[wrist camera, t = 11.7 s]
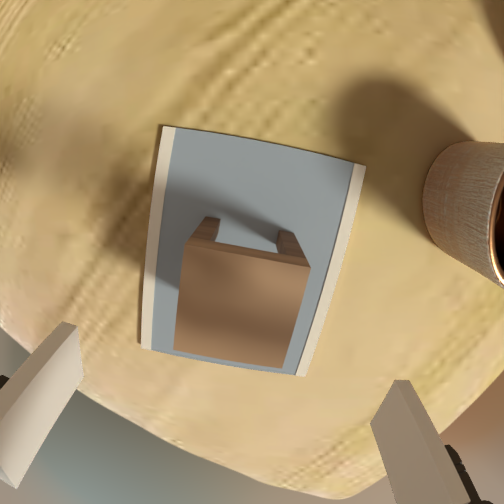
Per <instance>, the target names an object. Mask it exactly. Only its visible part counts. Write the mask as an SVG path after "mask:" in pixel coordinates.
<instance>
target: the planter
mask: <svg viewBox="0 0 504 504" xmlns="http://www.w3.org/2000/svg"><path fill="white" fill-rule="evenodd" d="M422 205H423V215H424V220H425V224H426V227H427V230H428V232H429V234H430V236H431V238H432V240H433V241H434V242H435V244H436V245H437V246H438V247H439V248H440V249H441V250H442V251H443V252H445V253H446V254H448V255H449V256H451V257H453V258H454V259H456V260H458V261H460V262H461V263H463V264H465V265H466V266H468V267H470V268H472V269H473V270H475V271H477V272H478V273H480V274H481V275H483V276H485V277H486V278H488V279H489V280H491V281H493V282H494V283H496V284H497V285H499V286H500V287H502V288H503V289H504V143H493V142H477V141H464V142H459V143H456V144H453V145H451V146H449V147H447V148H446V149H445V150H443V151H442V152H441V153H440V154H439V155H438V157H437V158H436V159H435V161H434V162H433V164H432V165H431V167H430V169H429V172H428V174H427V177H426V180H425V184H424V190H423V201H422Z"/></svg>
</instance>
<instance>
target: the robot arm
mask: <svg viewBox="0 0 504 504" xmlns="http://www.w3.org/2000/svg"><path fill="white" fill-rule="evenodd" d="M83 377H84V374H83V367H82V360H81V352H80V344H79V334H78V326H75V325H72V324H69V323H66V322H63V321H62V322H61V323H60V324H59V325H58V326H57V327H56V328H55V329H54V330H53V332H52V333H51V334H50V335H49V336H48V337H47V338H46V339H45V340H44V341H43V342H42V343H41V344H40V345H39V346H38V348H37V349H36V350H35V351H34V352H33V353H32V354H31V355H30V356H29V357H28V359H27V360H26V361H25V362H24V363H23V364H22V365H21V367H20V368H19V369H18V370H17V371H16V372H15V373H14V374H13V375H12V377H11V378H8V377H6V376H4V375H1V376H0V479H1V480H3V481H4V482H6V483H7V484H9V485H11V486H12V487H14V488H16V489H17V487H18V486H19V483H20V482H21V480H22V478H23V476H24V475H25V473H26V471H27V469H28V467H29V466H30V464H31V462H32V460H33V459H34V457H35V455H36V453H37V452H38V450H39V448H40V447H41V445H42V443H43V441H44V440H45V438H46V436H47V435H48V433H49V431H50V429H51V428H52V426H53V425H54V423H55V421H56V420H57V418H58V417H59V415H60V413H61V412H62V410H63V408H64V407H65V405H66V404H67V402H68V401H69V399H70V397H71V396H72V394H73V392H74V391H75V390H76V388H77V387H78V385H79V383H80V382H81V380H82V379H83ZM370 425H371V428H372V430H373V433H374V436H375V439H376V442H377V445H378V448H379V451H380V454H381V457H382V460H383V463H384V466H385V469H386V472H387V475H388V478H389V481H390V484H391V487H392V491H393V493H394V497H395V500H396V503H397V504H493V503H491V502H490V501H485V500H484V501H481V499H480V498H479V496H478V494H477V491H476V489H475V487H474V485H473V483H472V481H471V479H470V477H469V475H468V473H467V472H466V469H465V467H464V465H463V464H462V461H461V459H460V457H459V455H458V453H457V452H456V451H455V450H454V449H453V448H452V447H451V446H450V445H444V444H443V442H442V440H441V439H440V436H439V434H438V432H437V431H436V429H435V427H434V425H433V423H432V421H431V419H430V417H429V415H428V414H427V412H426V410H425V408H424V406H423V404H422V402H421V401H420V399H419V397H418V395H417V393H416V392H415V390H414V388H413V386H412V384H411V383H410V381H409V380H394V382H393V384H392V386H391V388H390V390H389V392H388V393H387V395H386V397H385V399H384V400H383V402H382V404H381V406H380V407H379V409H378V411H377V413H376V414H375V416H374V418H373V419H372V421H371V423H370Z"/></svg>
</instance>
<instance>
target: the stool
mask: <svg viewBox="0 0 504 504" xmlns="http://www.w3.org/2000/svg"><path fill="white" fill-rule="evenodd" d="M220 220H221V219H218V218H213V217H207V216H205V218H204V219H203V220H202V222H201V223H200V224H199V226H198V227H197V228H196V230H195V231H194V232H193V234H192V235H191V236H190V238H189V239H188V240H187V242H186V243H185V245H184V253H183V260H182V268H181V277H180V285H179V294H178V303H177V313H176V323H175V334H174V345H173V350H176V351H181V352H186V353H191V354H196V355H201V356H206V357H211V358H217V359H222V360H228V361H234V362H240V363H246V364H253V365H259V366H266V367H274V368H281V369H282V367H283V364H284V360H285V357H286V354H287V351H288V347H289V344H290V341H291V337H292V334H293V331H294V327H295V324H296V320H297V317H298V313H299V310H300V306H301V303H302V299H303V296H304V292H305V288H306V285H307V281H308V277H309V274H310V270H311V267H310V265H309V263H308V261H307V258H306V256H305V254H304V252H303V250H302V248H301V246H300V244H299V242H298V240H297V238H296V236H295V234H294V233H292V232H287V231H282V230H279V232H278V237H277V241H276V248H277V252H278V253H274V252H269V251H263V250H258V249H253V248H247V247H242V246H236V245H231V244H226V243H220V242H215V240H216V238H217V235H218V232H219V226H220Z"/></svg>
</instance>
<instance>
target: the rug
mask: <svg viewBox="0 0 504 504" xmlns="http://www.w3.org/2000/svg"><path fill="white" fill-rule="evenodd" d="M365 170H366V166H364V165H360V164H356V163H353V162H349V161H345V160H341V159H337V158H334V157H330V156H326V155H322V154H317V153H313V152H309V151H305V150H300V149H296V148H291V147H287V146H282V145H277V144H272V143H267V142H262V141H257V140H252V139H246V138H241V137H235V136H229V135H223V134H217V133H211V132H204V131H197V130H190V129H182V128H175V127H167V126H163V130H162V136H161V142H160V147H159V153H158V160H157V166H156V172H155V179H154V186H153V194H152V201H151V209H150V218H149V227H148V236H147V247H146V258H145V270H144V285H143V302H142V325H141V348H143V349H147V350H154V351H158V352H162V353H167V354H171V355H176V356H181V357H185V358H190V359H195V360H200V361H206V362H211V363H216V364H222V365H228V366H234V367H240V368H246V369H253V370H260V371H267V372H274V373H282V374H290V375H295V376H303V377H305V376H306V373H307V370H308V368H309V365H310V362H311V359H312V357H313V354H314V351H315V348H316V345H317V342H318V339H319V336H320V333H321V330H322V327H323V324H324V321H325V318H326V315H327V312H328V309H329V306H330V302H331V299H332V296H333V293H334V289H335V286H336V283H337V279H338V276H339V272H340V269H341V265H342V262H343V258H344V255H345V251H346V248H347V244H348V240H349V236H350V233H351V229H352V225H353V221H354V217H355V213H356V209H357V205H358V201H359V197H360V192H361V188H362V184H363V179H364V175H365ZM205 216H207V217H213V218H218V219H221V220H220V226H219V232H218V235H217V238H216V240H215V242H220V243H226V244H231V245H236V246H242V247H247V248H253V249H258V250H263V251H269V252H274V253H278V252H277V248H276V241H277V237H278V232H279V230H282V231H287V232H292V233H294V234H295V236H296V238H297V240H298V242H299V244H300V246H301V248H302V250H303V252H304V254H305V256H306V258H307V261H308V263H309V265H310V267H311V270H310V274H309V277H308V281H307V285H306V288H305V292H304V296H303V299H302V303H301V306H300V310H299V313H298V317H297V320H296V324H295V327H294V331H293V334H292V337H291V341H290V344H289V347H288V351H287V354H286V357H285V360H284V364H283V367H282V369H281V368H274V367H266V366H259V365H253V364H246V363H240V362H234V361H228V360H222V359H217V358H211V357H206V356H201V355H196V354H191V353H186V352H181V351H176V350H173V345H174V334H175V323H176V313H177V303H178V294H179V285H180V277H181V268H182V260H183V253H184V245H185V243H186V242H187V240H188V239H189V238H190V236H191V235H192V234H193V232H194V231H195V230H196V228H197V227H198V226H199V224H200V223H201V222H202V220H203V219H204V218H205Z"/></svg>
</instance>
